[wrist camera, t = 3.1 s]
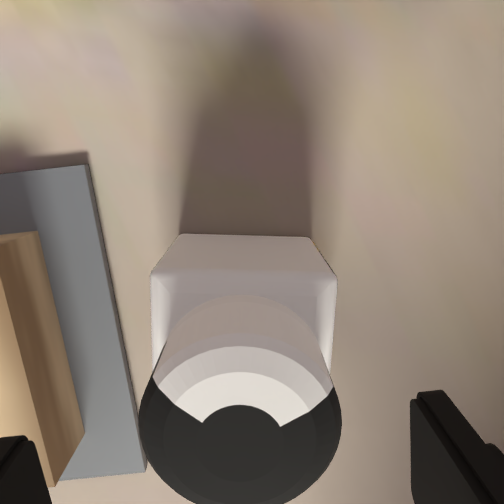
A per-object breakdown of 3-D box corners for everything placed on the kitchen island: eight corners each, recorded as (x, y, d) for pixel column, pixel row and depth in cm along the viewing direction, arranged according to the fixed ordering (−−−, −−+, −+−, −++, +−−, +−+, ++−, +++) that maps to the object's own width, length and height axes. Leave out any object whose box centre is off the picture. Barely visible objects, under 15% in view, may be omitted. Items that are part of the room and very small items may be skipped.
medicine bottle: (304, 358, 25) (355, 549, 13) (178, 355, 24) (117, 545, 13) (312, 235, 23) (379, 328, 11) (177, 231, 23) (104, 322, 11)
